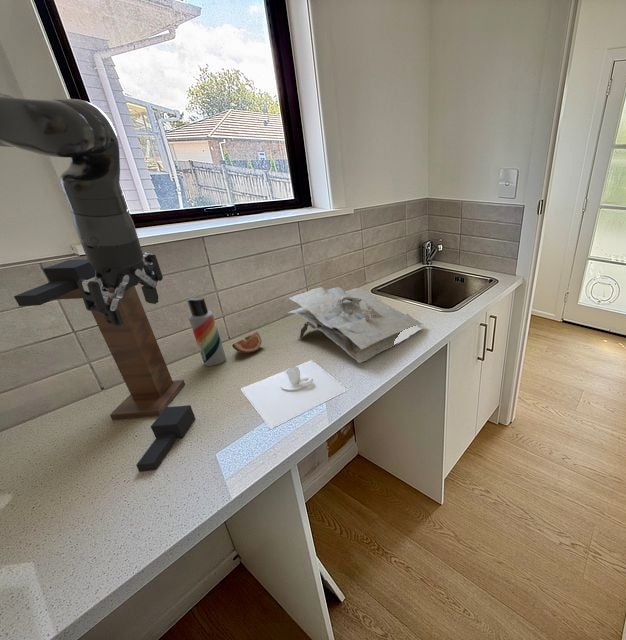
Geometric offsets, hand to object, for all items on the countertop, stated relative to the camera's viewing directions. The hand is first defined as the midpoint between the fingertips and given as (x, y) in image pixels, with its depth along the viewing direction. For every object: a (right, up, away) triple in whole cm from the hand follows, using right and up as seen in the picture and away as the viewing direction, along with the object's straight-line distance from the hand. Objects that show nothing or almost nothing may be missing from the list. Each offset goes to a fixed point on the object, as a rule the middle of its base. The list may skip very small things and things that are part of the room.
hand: (135, 313), depth 66 cm
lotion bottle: (-4, -14, +32) cm, 35 cm away
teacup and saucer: (+24, -20, +20) cm, 37 cm away
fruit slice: (+3, -11, +37) cm, 39 cm away
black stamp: (-9, +4, -5) cm, 11 cm away
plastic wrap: (+35, -6, +49) cm, 60 cm away
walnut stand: (-10, -22, +15) cm, 28 cm away
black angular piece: (+3, -27, +4) cm, 28 cm away
